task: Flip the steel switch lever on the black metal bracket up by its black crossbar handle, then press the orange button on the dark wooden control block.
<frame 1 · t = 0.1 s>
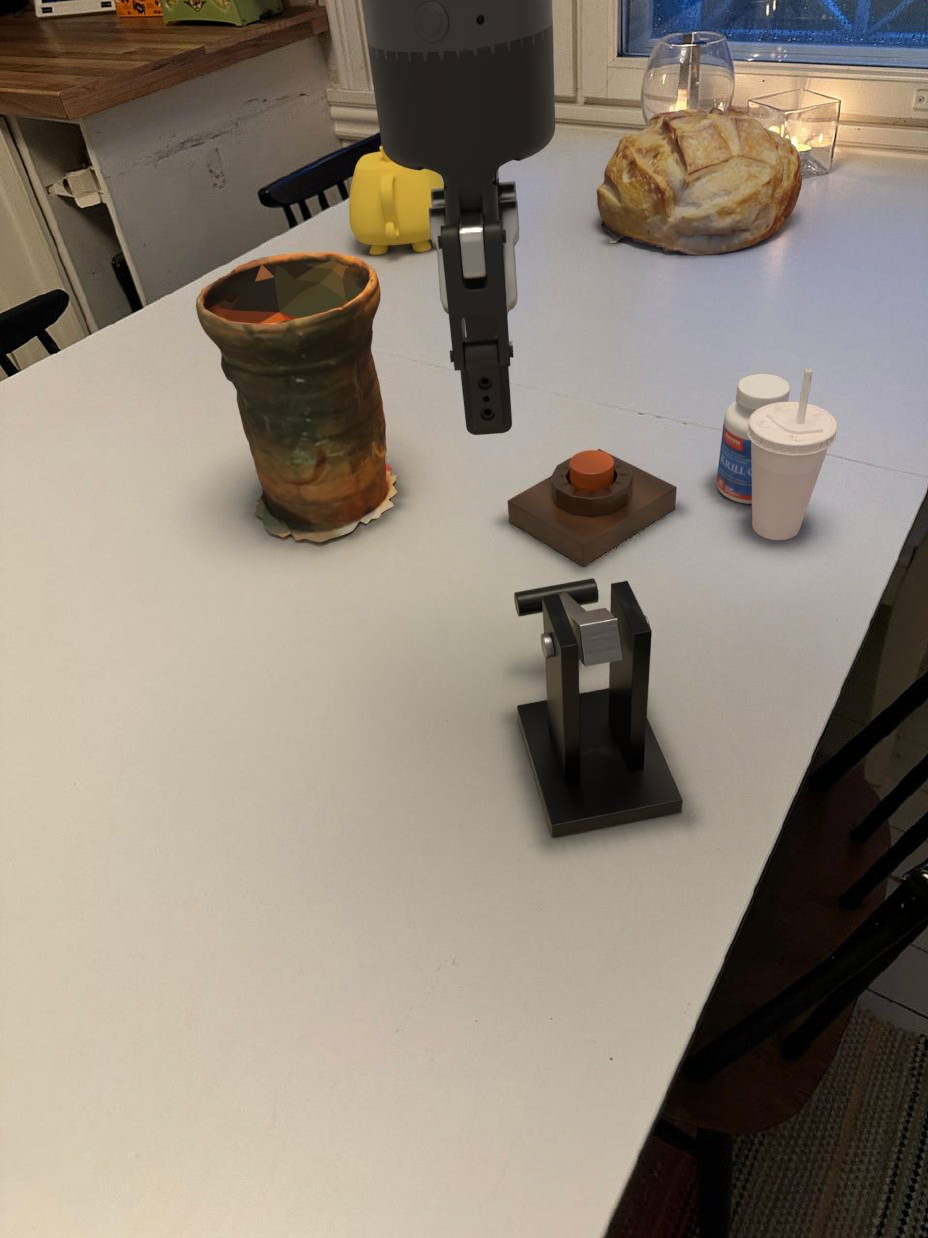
hand: (488, 387, 48), 24 cm above the table, tool pointing down, fingers open, 8 cm apart
vessel: (334, 499, 85), on the table
button: (591, 470, 76), point 4 cm above the table, slide at 0.1 cm
pill bottle: (748, 489, 80), on the table
button block: (591, 514, 79), on the table
smoothie: (775, 528, 76), on the table
switch bracket: (594, 762, 59), on the table
switch: (574, 616, 57), point 9 cm above the table, hinge at -28.0°
teapot: (404, 239, 133), on the table
bread: (691, 223, 127), on the table
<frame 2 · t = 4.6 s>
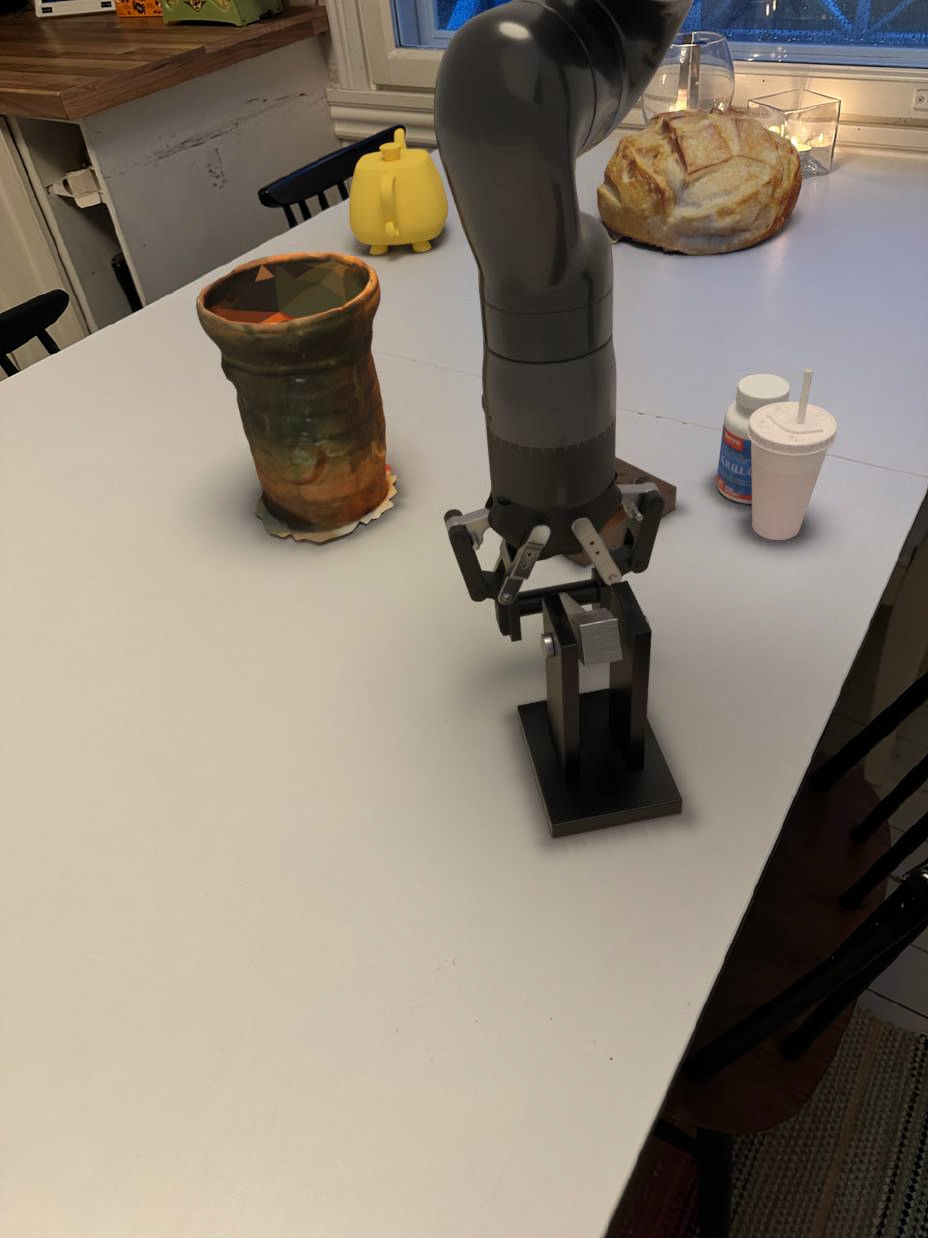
hand: (557, 624, 64), 3 cm above the table, tool pointing down, fingers closed on switch, 5 cm apart
switch: (574, 616, 57), point 9 cm above the table, hinge at -28.1°, touching gripper
everything else where it was.
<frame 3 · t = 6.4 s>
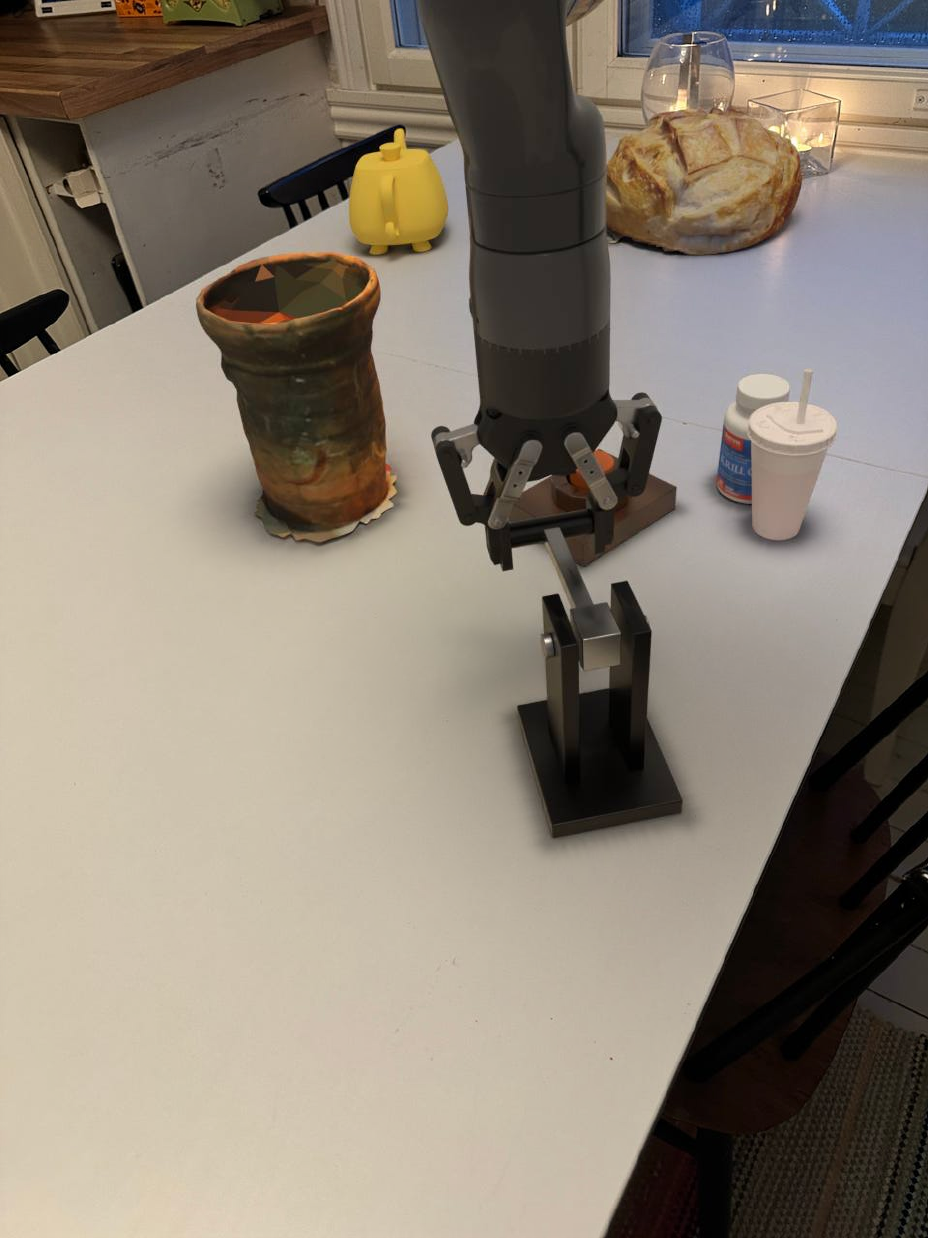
hand: (550, 554, 62), 9 cm above the table, tool pointing down, fingers closed on switch, 5 cm apart
switch: (571, 581, 56), point 11 cm above the table, hinge at -1.6°, touching gripper
everything else where it was.
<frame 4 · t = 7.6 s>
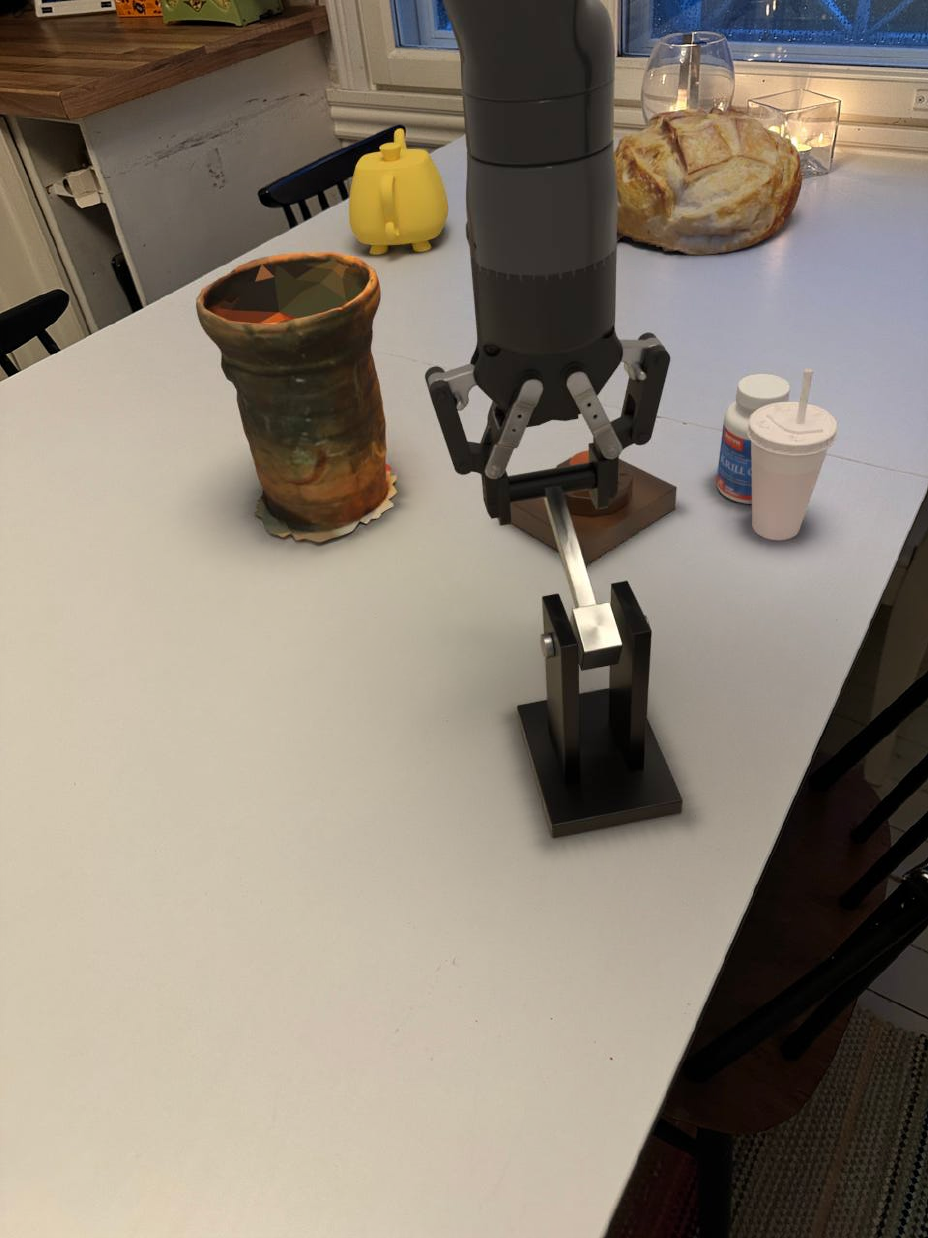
hand: (551, 508, 58), 13 cm above the table, tool pointing down, fingers closed on switch, 5 cm apart
switch: (572, 559, 54), point 13 cm above the table, hinge at 19.3°, touching gripper
everything else where it was.
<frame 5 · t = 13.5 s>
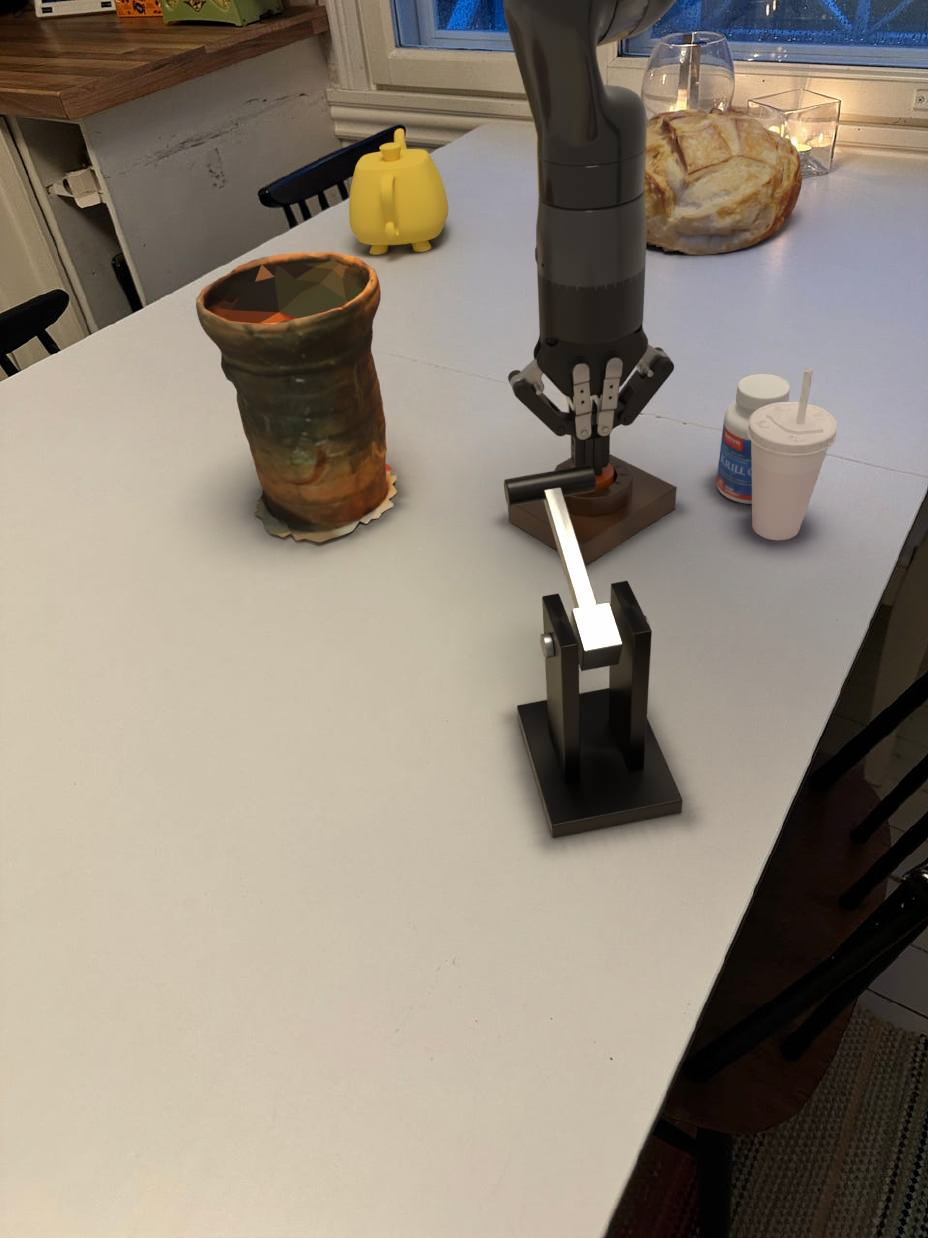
hand: (590, 470, 76), 4 cm above the table, tool pointing down, fingers closed
button: (591, 479, 77), point 4 cm above the table, slide at -0.8 cm, touching gripper
switch: (572, 561, 55), point 13 cm above the table, hinge at 18.0°
everything else where it was.
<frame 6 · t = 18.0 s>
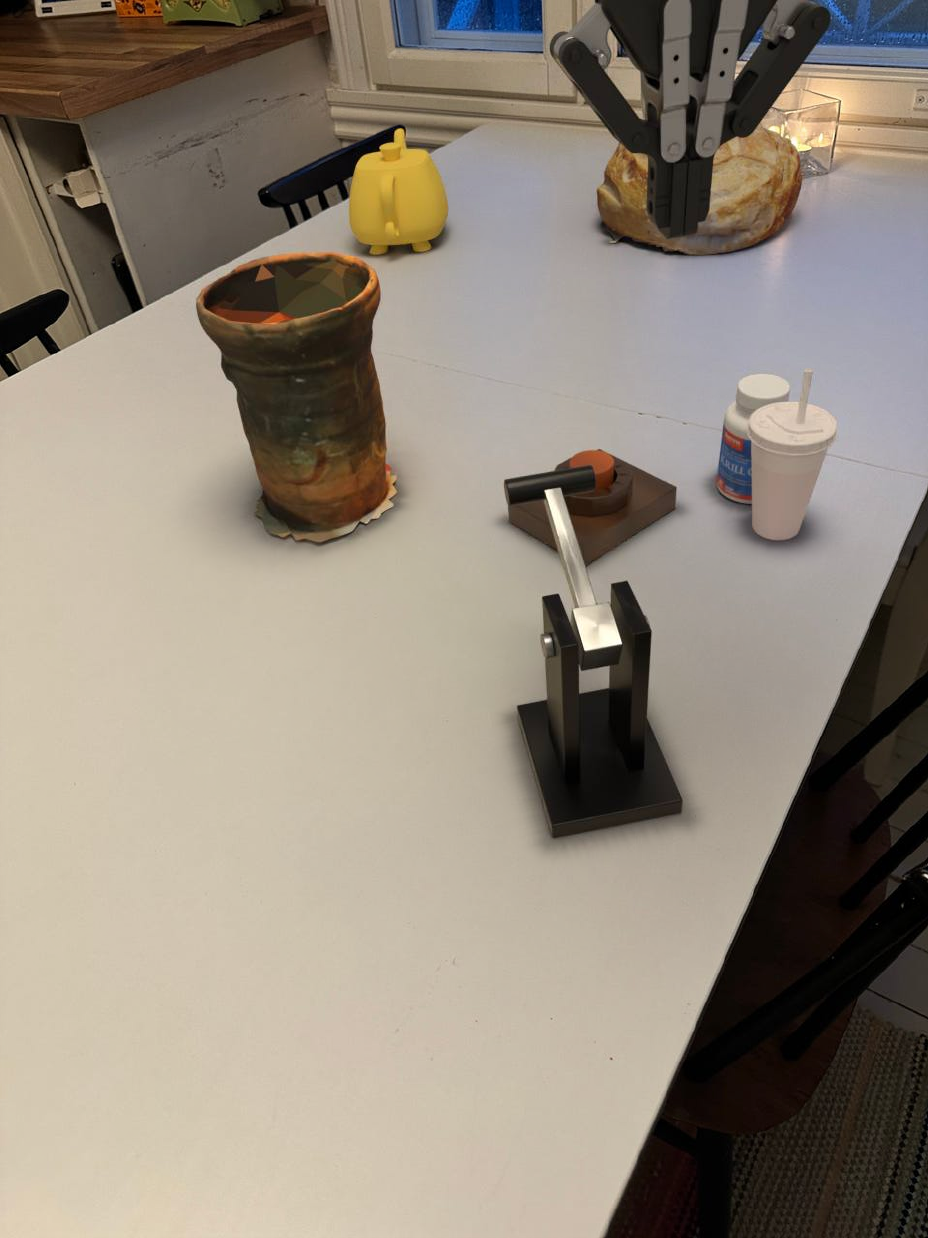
hand: (676, 231, 48), 29 cm above the table, tool pointing down, fingers closed
button: (591, 470, 76), point 4 cm above the table, slide at 0.1 cm
everything else where it was.
at the end: switch at +18° (first picture: -28°); button pushed in 1.1 cm at the most during the clip, back to where it started at the end; button slide at 0.1 cm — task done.
